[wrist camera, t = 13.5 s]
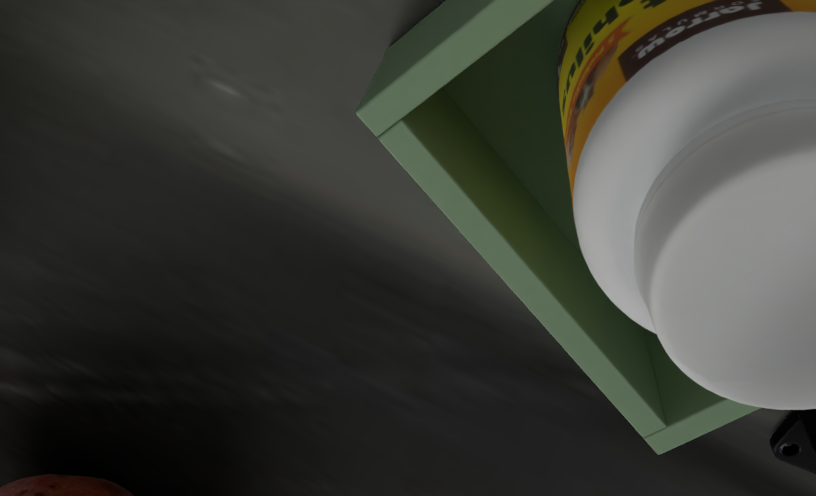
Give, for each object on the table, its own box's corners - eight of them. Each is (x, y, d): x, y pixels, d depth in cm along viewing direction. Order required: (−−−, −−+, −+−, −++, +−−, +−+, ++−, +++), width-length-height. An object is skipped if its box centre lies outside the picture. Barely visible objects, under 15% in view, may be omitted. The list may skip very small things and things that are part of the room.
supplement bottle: (698, -130, 16) (914, -45, 8) (848, 55, 18) (1173, 306, 9) (504, 54, 19) (496, 282, 10) (650, 204, 20) (755, 515, 11)
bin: (1046, 124, 19) (1189, 212, 15) (633, 344, 23) (658, 456, 19) (822, -314, 15) (932, -354, 11) (385, 49, 20) (353, 113, 16)
